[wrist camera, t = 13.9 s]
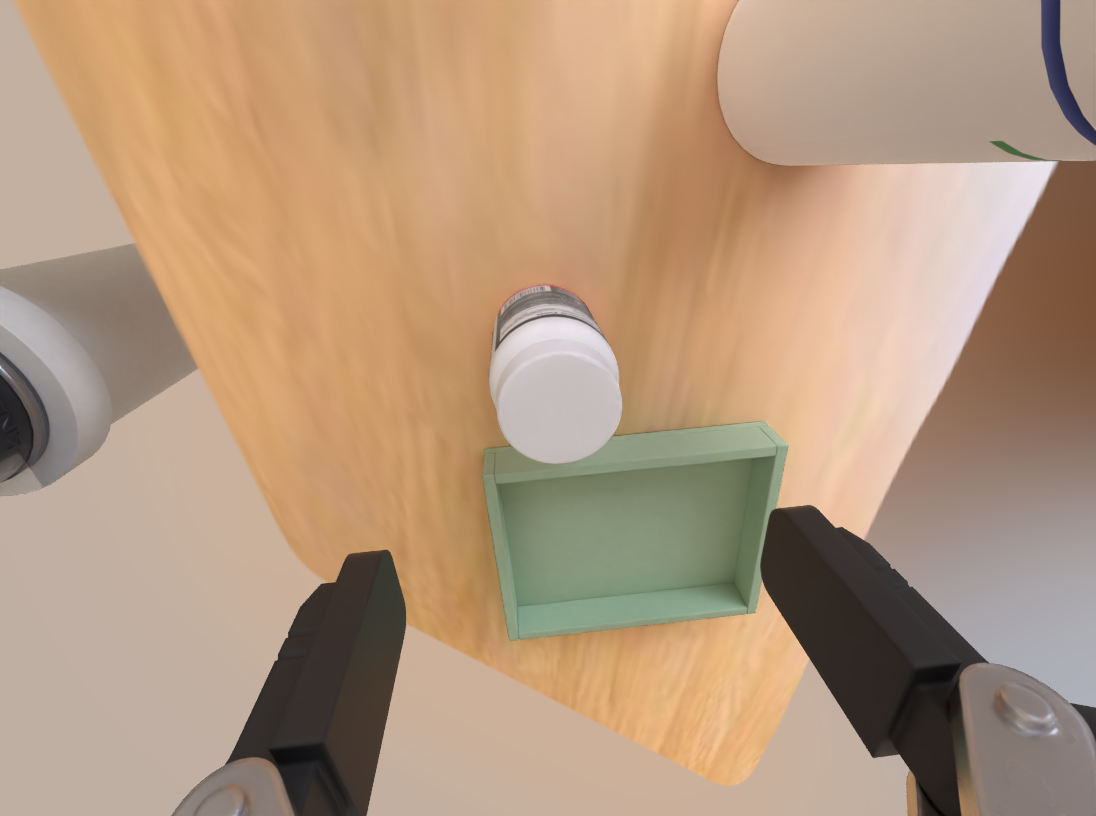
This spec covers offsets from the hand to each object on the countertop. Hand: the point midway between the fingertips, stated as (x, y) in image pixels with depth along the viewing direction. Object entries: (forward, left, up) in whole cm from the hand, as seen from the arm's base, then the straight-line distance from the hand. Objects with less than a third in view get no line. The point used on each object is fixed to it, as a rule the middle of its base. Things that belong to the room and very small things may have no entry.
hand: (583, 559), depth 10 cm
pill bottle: (0, +1, -14) cm, 14 cm away
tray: (+4, -12, -14) cm, 19 cm away
